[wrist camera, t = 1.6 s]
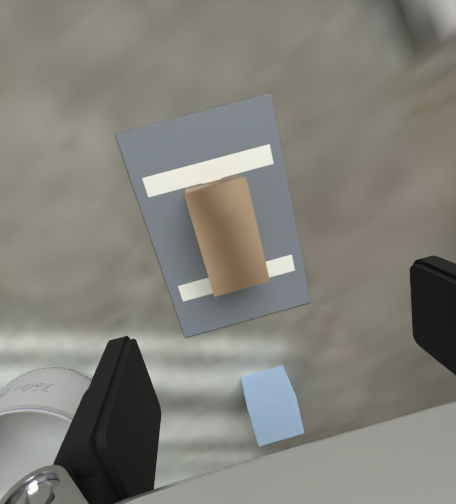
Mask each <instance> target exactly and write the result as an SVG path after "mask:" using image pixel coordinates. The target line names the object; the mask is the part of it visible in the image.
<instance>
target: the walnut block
mask: <svg viewBox="0 0 456 504" xmlns="http://www.w3.org/2000/svg"><path fill="white" fill-rule="evenodd" d="M184 196H185V199H186V203H187V206H188V209H189V213H190V216H191V219H192V223H193V226H194V230H195V233H196V236H197V240H198V243H199V247H200V250H201V253H202V257H203V260H204V264H205V267H206V270H207V274H208V277H209V280H210V284H211V287H212V291H213V294H214V297H216V296H220V295H223V294H227V293H230V292H234V291H238V290H241V289H245V288H248V287H252V286H255V285H259V284H263V283H266V282H270V279H269V274H268V270H267V266H266V261H265V257H264V253H263V248H262V244H261V240H260V235H259V231H258V226H257V222H256V218H255V213H254V209H253V205H252V200H251V196H250V192H249V187H248V183H247V179H246V178H244V177H242V176H240V175H235V176H231V177H227V178H223V179H220V180H216V181H212V182H209V183H205V184H201V185H197V186H194V187H190V188H186V189H185V194H184Z"/></svg>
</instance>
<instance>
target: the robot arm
mask: <svg viewBox="0 0 456 504" xmlns="http://www.w3.org/2000/svg"><path fill="white" fill-rule="evenodd" d="M410 285H411V305H412V326H413V337H414V339H415V341H416V343H417V344H418V345H419V346H420V347H421V348H423V349H424V350H425V351H426V352H428V353H429V354H430V355H431V356H433V357H434V358H435V359H436V360H437V361H439V362H440V363H441V364H442V365H444V366H445V367H446V368H447V369H449V370H450V371H451V372H452V373H454V374H455V375H456V264H455V263H452V262H450V261H447V260H445V259H442V258H440V257H437V256H430V257H426V258H422V259H418V260H416V261H415V262H414V264H413V265H412V266H411V268H410ZM160 422H161V409H160V404H159V402H158V399H157V396H156V393H155V390H154V388H153V385H152V382H151V379H150V377H149V374H148V371H147V368H146V366H145V363H144V360H143V357H142V355H141V352H140V349H139V346H138V344H137V341H136V340H135V339H131V340H130V338H129V337H128V336H125V337H121V338H117V339H113V340H110V341H109V342H108V344H107V346H106V348H105V351H104V353H103V355H102V357H101V360H100V362H99V364H98V367H97V369H96V371H95V374H94V376H93V378H92V381H91V383H90V385H89V388H88V390H86V391H85V393H84V394H83V397H82V399H81V401H80V404H79V406H78V408H77V410H76V413H75V415H74V417H73V419H72V422H71V424H70V426H69V429H68V431H67V433H66V435H65V438H64V440H63V442H62V445H61V447H60V449H59V451H58V454H57V456H56V458H55V460H54V463H53V465H49V466H44V467H41V468H39V469H37V470H35V471H32V472H31V473H29V474H28V475H26V476H25V477H23V478H22V479H20V480H19V481H18V482H17V483H16V484H15V485H14V486H12V487H11V488H10V489H9V490H8V492H7V493H6V494H5V495H4V496H3V497H2V499H1V500H0V504H456V401H452V402H449V403H445V404H442V405H438V406H435V407H431V408H428V409H424V410H421V411H417V412H414V413H410V414H407V415H403V416H400V417H396V418H393V419H389V420H386V421H382V422H379V423H375V424H372V425H369V426H365V427H362V428H358V429H355V430H351V431H348V432H344V433H341V434H337V435H334V436H331V437H327V438H324V439H320V440H317V441H313V442H310V443H307V444H303V445H300V446H297V447H293V448H290V449H286V450H283V451H280V452H276V453H273V454H269V455H266V456H263V457H259V458H256V459H252V460H249V461H246V462H242V463H239V464H236V465H232V466H229V467H225V468H222V469H219V470H215V471H212V472H208V473H205V474H202V475H198V476H195V477H192V478H188V479H185V480H181V481H178V482H175V483H172V484H169V485H166V486H163V487H160V488H157V489H154V481H155V471H156V461H157V451H158V442H159V432H160Z"/></svg>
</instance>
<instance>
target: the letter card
mask: <svg viewBox="0 0 456 504" xmlns="http://www.w3.org/2000/svg"><path fill="white" fill-rule="evenodd" d="M115 135H116V138H117V141H118V144H119V147H120V149H121V152H122V155H123V158H124V161H125V164H126V167H127V170H128V173H129V176H130V179H131V182H132V184H133V187H134V190H135V193H136V196H137V199H138V202H139V205H140V208H141V211H142V214H143V217H144V219H145V222H146V225H147V228H148V231H149V234H150V237H151V240H152V243H153V246H154V249H155V252H156V254H157V257H158V260H159V263H160V266H161V269H162V272H163V275H164V278H165V281H166V284H167V287H168V289H169V292H170V295H171V298H172V301H173V304H174V307H175V310H176V313H177V316H178V319H179V322H180V324H181V327H182V330H183V333H184V336H185V338H186V337H189V336H193V335H196V334H200V333H203V332H207V331H211V330H214V329H218V328H221V327H225V326H228V325H232V324H235V323H239V322H242V321H246V320H249V319H253V318H256V317H260V316H264V315H267V314H271V313H274V312H278V311H281V310H285V309H288V308H292V307H295V306H299V305H302V304H306V303H309V302H311V301H310V296H309V291H308V285H307V280H306V275H305V270H304V264H303V259H302V254H301V249H300V243H299V238H298V233H297V227H296V222H295V217H294V212H293V206H292V201H291V196H290V191H289V185H288V180H287V175H286V169H285V164H284V159H283V154H282V148H281V143H280V138H279V133H278V127H277V122H276V117H275V111H274V106H273V101H272V96H271V93H269V94H266V95H262V96H258V97H254V98H250V99H247V100H243V101H239V102H235V103H231V104H228V105H224V106H220V107H216V108H212V109H209V110H205V111H201V112H197V113H193V114H190V115H186V116H182V117H178V118H174V119H171V120H167V121H163V122H159V123H155V124H152V125H148V126H144V127H140V128H136V129H132V130H129V131H125V132H121V133H117V134H115ZM235 175H240V176H242V177H244V178H246V179H247V183H248V187H249V192H250V196H251V200H252V205H253V209H254V213H255V218H256V222H257V226H258V231H259V235H260V240H261V244H262V248H263V253H264V257H265V261H266V266H267V270H268V274H269V279H270V282H266V283H263V284H259V285H255V286H252V287H248V288H245V289H241V290H238V291H234V292H230V293H227V294H223V295H220V296H216V297H214V294H213V291H212V287H211V284H210V280H209V277H208V274H207V270H206V267H205V264H204V260H203V257H202V253H201V250H200V247H199V243H198V240H197V236H196V233H195V230H194V226H193V223H192V219H191V216H190V213H189V209H188V206H187V203H186V199H185V196H184V194H185V189H186V188H190V187H194V186H197V185H201V184H205V183H209V182H212V181H216V180H220V179H223V178H227V177H231V176H235Z"/></svg>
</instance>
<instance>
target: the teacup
mask: <svg viewBox="0 0 456 504" xmlns="http://www.w3.org/2000/svg"><path fill="white" fill-rule="evenodd" d="M90 383H91V381H90V380H89V379H88V378H87V377H85V376H83V375H82V374H80V373H78V372H75V371H72V370H69V369H64V368H55V367H51V368H41V369H36V370H33V371H30V372H27V373H25V374H23V375H21V376H19V377H17V378H16V379H14V380H13V381H11V382H10V383H9V384H8V385H7V386H6V387H5V388H3V389H2V390H1V392H0V500H1V499H2V497H3V496H4V495H5V494H6V493H7V492H8V490H9V489H10V488H11V487H12V486H14V485H15V484H16V483H17V482H18V481H19V480H20V479H22V478H23V477H25V476H26V475H28V474H29V473H31V472H32V471H35V470H37V469H39V468H41V467H44V466H49V465H53V463H54V460H55V458H56V456H57V454H58V451H59V449H60V447H61V445H62V442H63V440H64V438H65V435H66V433H67V431H68V429H69V426H70V424H71V422H72V419H73V417H74V415H75V413H76V410H77V408H78V406H79V404H80V401H81V399H82V397H83V394H84V393H85V391H86V390H88V388H89V385H90Z"/></svg>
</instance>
